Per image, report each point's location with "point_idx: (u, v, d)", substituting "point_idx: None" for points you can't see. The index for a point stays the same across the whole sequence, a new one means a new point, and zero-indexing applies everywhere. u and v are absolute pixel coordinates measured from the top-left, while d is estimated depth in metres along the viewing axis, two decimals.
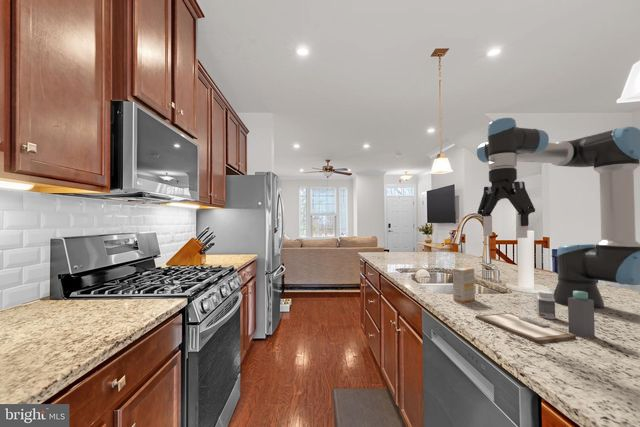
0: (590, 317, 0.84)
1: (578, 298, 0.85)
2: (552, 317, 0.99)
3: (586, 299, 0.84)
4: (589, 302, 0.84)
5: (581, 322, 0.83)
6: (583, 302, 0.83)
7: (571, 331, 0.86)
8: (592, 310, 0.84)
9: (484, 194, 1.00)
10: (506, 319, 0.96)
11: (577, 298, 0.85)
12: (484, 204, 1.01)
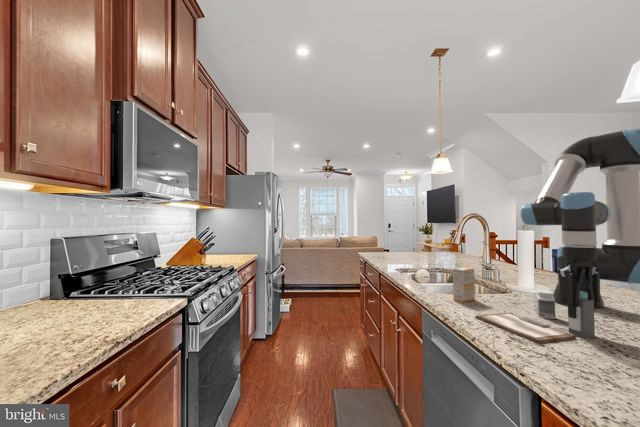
0: (590, 317, 0.84)
1: None
2: (552, 317, 0.99)
3: (586, 299, 0.84)
4: (589, 302, 0.84)
5: (581, 322, 0.83)
6: (583, 302, 0.83)
7: (571, 331, 0.86)
8: (592, 310, 0.84)
9: None
10: (506, 319, 0.96)
11: None
12: None
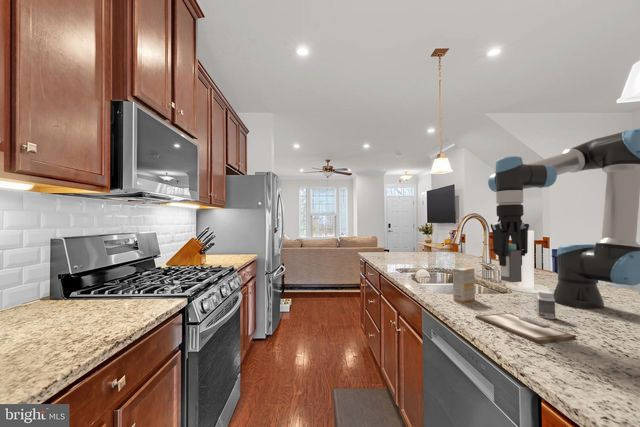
0: (517, 265, 0.96)
1: (508, 249, 0.97)
2: (552, 317, 0.99)
3: (514, 249, 0.97)
4: (517, 252, 0.96)
5: (509, 269, 0.96)
6: (511, 251, 0.96)
7: (502, 278, 0.99)
8: (519, 259, 0.96)
9: None
10: (506, 319, 0.96)
11: None
12: None
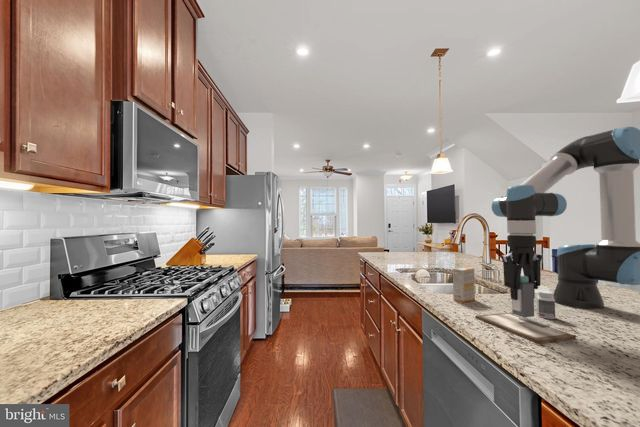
0: (530, 299, 0.92)
1: (520, 282, 0.93)
2: (552, 317, 0.99)
3: (526, 282, 0.92)
4: (529, 285, 0.92)
5: (521, 303, 0.92)
6: (523, 285, 0.92)
7: (514, 312, 0.94)
8: (532, 292, 0.92)
9: None
10: (506, 319, 0.96)
11: None
12: None
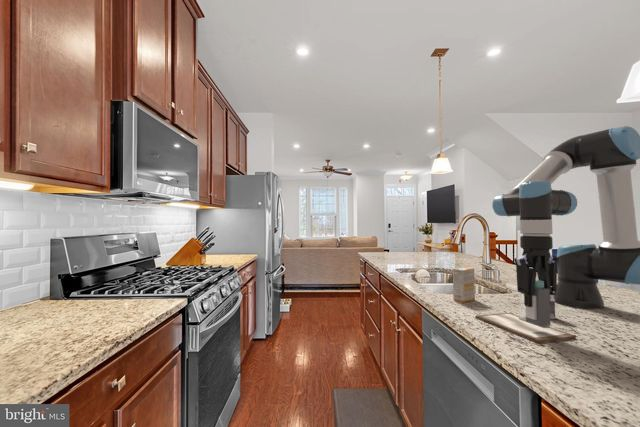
0: (546, 306, 0.84)
1: None
2: (552, 317, 0.99)
3: (542, 288, 0.84)
4: (545, 290, 0.84)
5: None
6: (539, 291, 0.83)
7: (528, 320, 0.86)
8: (548, 299, 0.84)
9: None
10: (506, 319, 0.96)
11: None
12: None
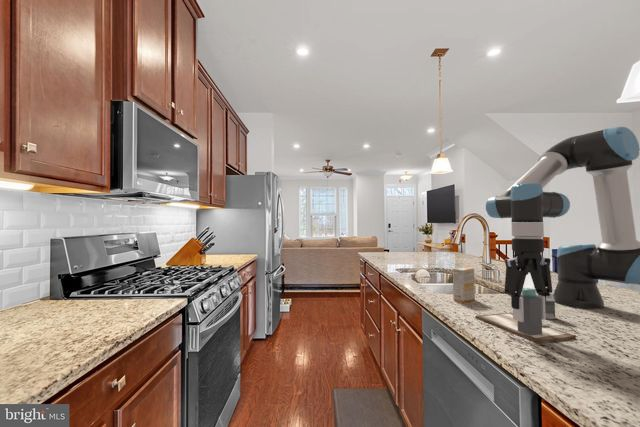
0: (537, 315, 0.83)
1: (526, 295, 0.84)
2: (552, 317, 0.99)
3: (534, 296, 0.83)
4: (537, 299, 0.83)
5: (528, 320, 0.83)
6: (530, 299, 0.82)
7: (520, 329, 0.85)
8: (539, 308, 0.83)
9: None
10: (506, 319, 0.96)
11: (525, 295, 0.84)
12: None
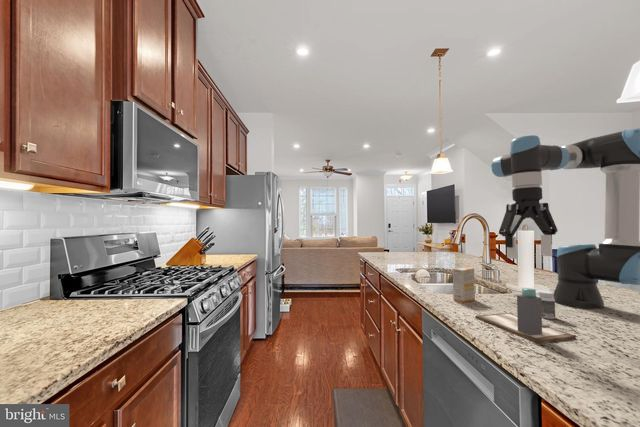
0: (537, 315, 0.83)
1: (526, 295, 0.84)
2: (552, 317, 0.99)
3: (534, 296, 0.83)
4: (537, 299, 0.83)
5: (528, 320, 0.83)
6: (530, 299, 0.82)
7: (520, 329, 0.85)
8: (539, 308, 0.83)
9: None
10: (506, 319, 0.96)
11: (525, 295, 0.84)
12: None
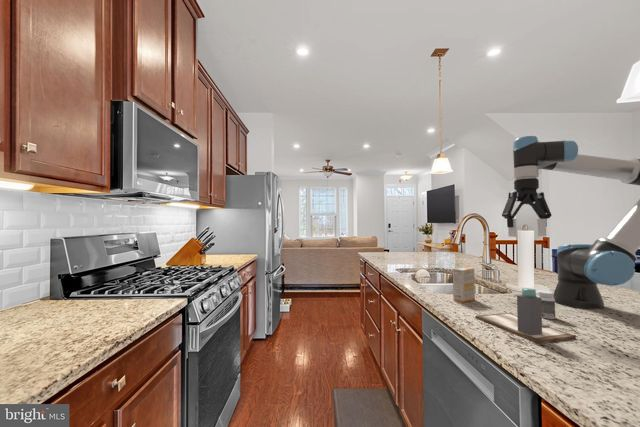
0: (537, 315, 0.83)
1: (526, 295, 0.84)
2: (552, 317, 0.99)
3: (534, 296, 0.83)
4: (537, 299, 0.83)
5: (528, 320, 0.83)
6: (530, 299, 0.82)
7: (520, 329, 0.85)
8: (539, 308, 0.83)
9: None
10: (506, 319, 0.96)
11: (525, 295, 0.84)
12: None
